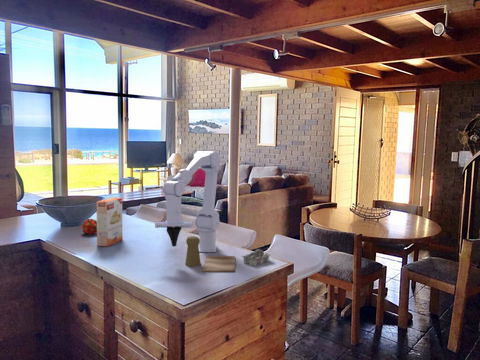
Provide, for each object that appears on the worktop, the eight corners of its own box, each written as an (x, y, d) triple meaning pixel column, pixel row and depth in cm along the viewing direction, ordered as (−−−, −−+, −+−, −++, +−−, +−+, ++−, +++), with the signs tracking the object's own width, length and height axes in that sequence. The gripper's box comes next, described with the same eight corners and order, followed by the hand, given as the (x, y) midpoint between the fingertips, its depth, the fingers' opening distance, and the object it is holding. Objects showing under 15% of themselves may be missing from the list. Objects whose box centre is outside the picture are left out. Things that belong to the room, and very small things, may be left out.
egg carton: (260, 257, 163) (260, 248, 163) (272, 262, 157) (272, 252, 157) (240, 262, 157) (240, 252, 156) (252, 267, 151) (252, 256, 150)
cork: (201, 261, 156) (201, 234, 155) (200, 266, 150) (200, 238, 149) (186, 261, 156) (186, 235, 155) (184, 266, 150) (184, 238, 149)
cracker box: (108, 247, 176) (107, 201, 174) (96, 246, 178) (95, 201, 176) (123, 239, 190) (122, 197, 188) (112, 238, 191) (111, 197, 189)
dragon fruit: (87, 234, 207) (97, 241, 199) (74, 227, 201) (84, 234, 193) (96, 220, 209) (107, 227, 201) (84, 213, 203) (94, 220, 195)
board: (206, 257, 162) (206, 255, 162) (235, 257, 162) (235, 256, 162) (202, 271, 144) (202, 270, 144) (234, 272, 144) (234, 270, 144)
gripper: (153, 213, 147) (153, 248, 148) (191, 213, 147) (191, 248, 148) (157, 210, 154) (157, 243, 155) (193, 210, 154) (193, 243, 155)
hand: (174, 245), depth 152 cm, fingers closed
